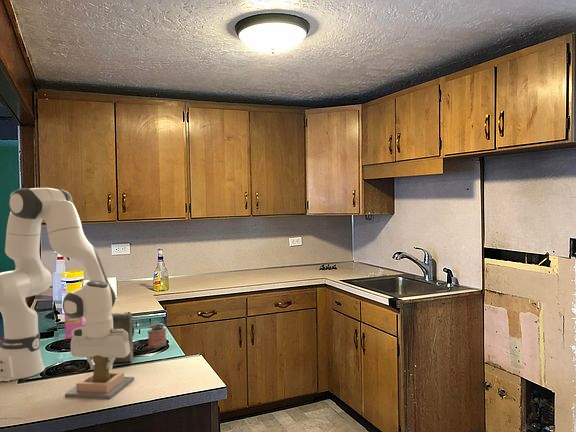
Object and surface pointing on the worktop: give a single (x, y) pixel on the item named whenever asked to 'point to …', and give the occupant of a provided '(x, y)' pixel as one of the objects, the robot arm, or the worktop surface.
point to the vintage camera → (126, 323)
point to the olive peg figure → (100, 369)
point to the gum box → (72, 325)
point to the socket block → (100, 386)
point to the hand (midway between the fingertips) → (101, 369)
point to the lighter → (157, 336)
